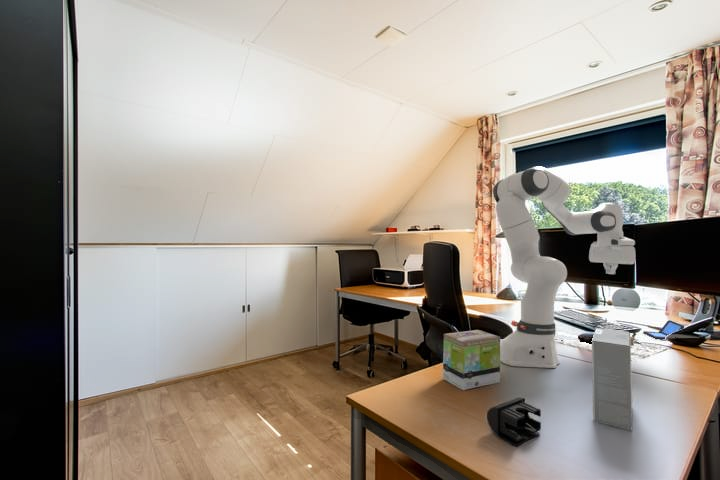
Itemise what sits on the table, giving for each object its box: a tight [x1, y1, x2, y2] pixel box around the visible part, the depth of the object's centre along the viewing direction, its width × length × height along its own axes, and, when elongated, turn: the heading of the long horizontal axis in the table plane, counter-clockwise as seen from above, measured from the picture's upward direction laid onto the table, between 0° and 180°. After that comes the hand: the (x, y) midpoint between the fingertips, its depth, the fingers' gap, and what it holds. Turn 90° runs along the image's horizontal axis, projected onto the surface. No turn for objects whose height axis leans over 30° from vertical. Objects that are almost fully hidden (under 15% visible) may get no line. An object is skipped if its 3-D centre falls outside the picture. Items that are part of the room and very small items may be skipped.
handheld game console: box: [643, 320, 685, 340], centre depth 155 cm, size 12×11×7 cm
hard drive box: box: [591, 327, 633, 432], centre depth 84 cm, size 16×8×20 cm, turn 141°
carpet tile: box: [555, 327, 668, 363], centre depth 146 cm, size 39×30×2 cm
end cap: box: [486, 396, 542, 448], centre depth 75 cm, size 10×7×7 cm
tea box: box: [442, 329, 501, 391], centre depth 104 cm, size 15×10×15 cm, turn 115°
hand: (610, 273), depth 139 cm, fingers closed
